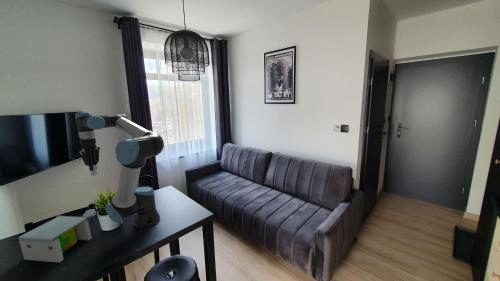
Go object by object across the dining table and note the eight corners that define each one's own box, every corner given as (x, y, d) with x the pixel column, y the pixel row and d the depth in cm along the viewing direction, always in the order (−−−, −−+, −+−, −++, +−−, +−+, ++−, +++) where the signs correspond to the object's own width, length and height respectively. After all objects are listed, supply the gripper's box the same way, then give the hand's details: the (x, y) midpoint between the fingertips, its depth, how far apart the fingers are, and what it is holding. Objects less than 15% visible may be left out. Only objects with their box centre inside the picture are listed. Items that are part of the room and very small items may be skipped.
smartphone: (100, 205, 153) (94, 215, 140) (100, 206, 153) (94, 216, 140) (88, 207, 151) (80, 217, 137) (89, 208, 151) (81, 218, 137)
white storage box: (94, 237, 118) (90, 216, 115) (60, 263, 99) (54, 238, 96) (62, 235, 120) (57, 214, 117) (23, 260, 101) (16, 236, 99)
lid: (88, 220, 115) (88, 216, 115) (51, 243, 96) (50, 239, 96) (60, 218, 117) (60, 215, 117) (19, 241, 98) (18, 236, 98)
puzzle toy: (61, 240, 115) (58, 225, 113) (77, 242, 114) (73, 226, 112) (42, 254, 106) (37, 237, 103) (58, 255, 104) (54, 238, 102)
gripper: (91, 136, 129) (97, 171, 133) (71, 140, 116) (79, 178, 121) (102, 136, 128) (108, 171, 133) (83, 140, 115) (90, 179, 120)
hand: (94, 174), depth 127 cm, fingers closed
